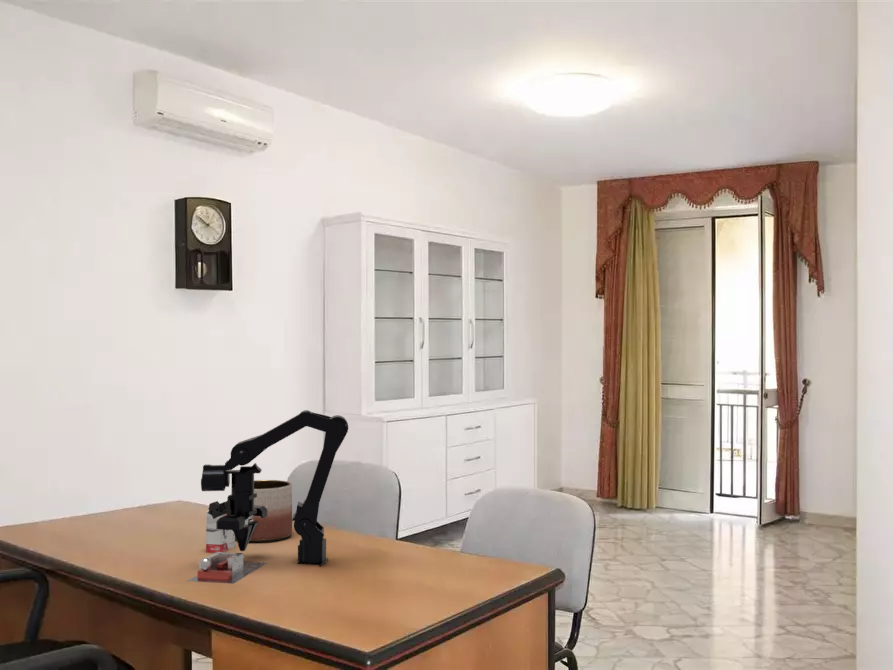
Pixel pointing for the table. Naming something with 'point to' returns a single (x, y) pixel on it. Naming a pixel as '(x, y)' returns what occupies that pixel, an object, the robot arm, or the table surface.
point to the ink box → (217, 536)
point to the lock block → (233, 561)
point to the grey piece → (222, 572)
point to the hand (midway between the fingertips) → (242, 550)
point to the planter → (273, 510)
